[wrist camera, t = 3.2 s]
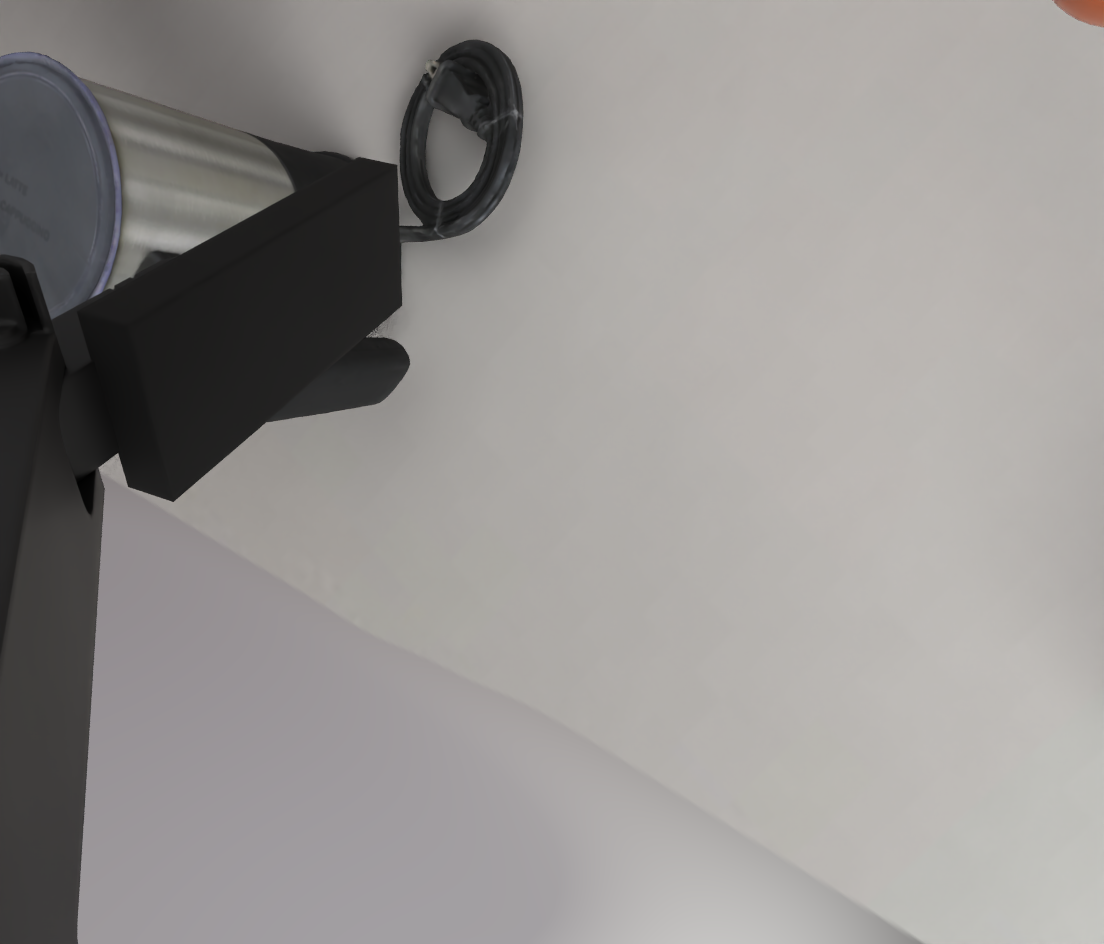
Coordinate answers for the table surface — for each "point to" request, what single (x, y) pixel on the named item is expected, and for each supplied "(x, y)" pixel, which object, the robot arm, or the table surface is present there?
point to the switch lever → (1084, 10)
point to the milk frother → (216, 186)
